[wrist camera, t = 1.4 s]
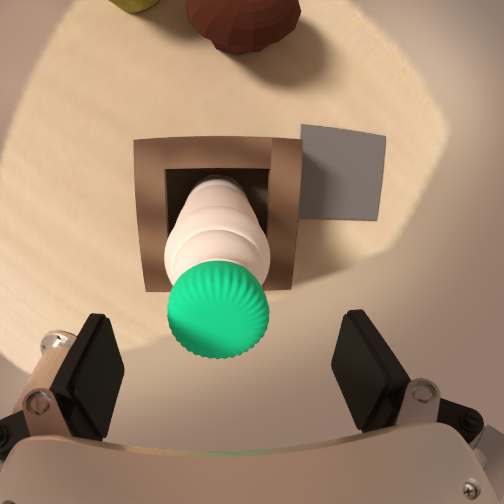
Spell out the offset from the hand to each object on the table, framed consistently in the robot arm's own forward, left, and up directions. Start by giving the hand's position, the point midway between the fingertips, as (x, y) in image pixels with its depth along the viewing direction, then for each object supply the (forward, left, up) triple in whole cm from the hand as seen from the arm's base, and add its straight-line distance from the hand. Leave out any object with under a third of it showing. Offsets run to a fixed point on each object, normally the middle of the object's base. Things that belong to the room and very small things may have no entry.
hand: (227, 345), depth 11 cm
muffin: (+23, -2, -27) cm, 35 cm away
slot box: (0, 0, -27) cm, 27 cm away
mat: (+4, -16, -27) cm, 31 cm away
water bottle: (0, 0, -27) cm, 27 cm away
